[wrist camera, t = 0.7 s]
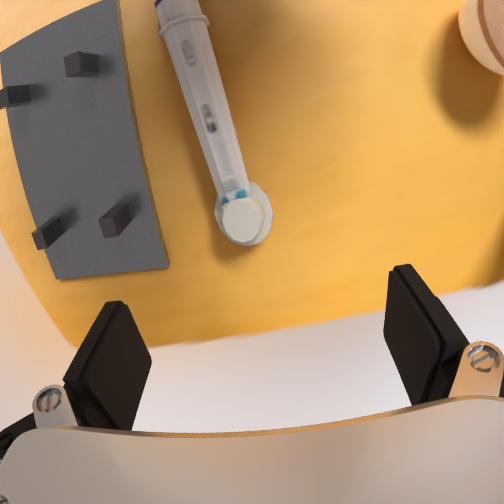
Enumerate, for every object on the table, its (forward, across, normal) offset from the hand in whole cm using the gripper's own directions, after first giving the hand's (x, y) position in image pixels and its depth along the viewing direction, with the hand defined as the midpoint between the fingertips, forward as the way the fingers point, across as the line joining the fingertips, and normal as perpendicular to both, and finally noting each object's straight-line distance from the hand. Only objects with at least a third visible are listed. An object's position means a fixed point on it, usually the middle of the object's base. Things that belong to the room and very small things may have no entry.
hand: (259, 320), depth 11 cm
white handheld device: (+23, +3, -6) cm, 24 cm away
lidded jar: (+23, -27, -14) cm, 38 cm away
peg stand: (+23, +19, -6) cm, 30 cm away
